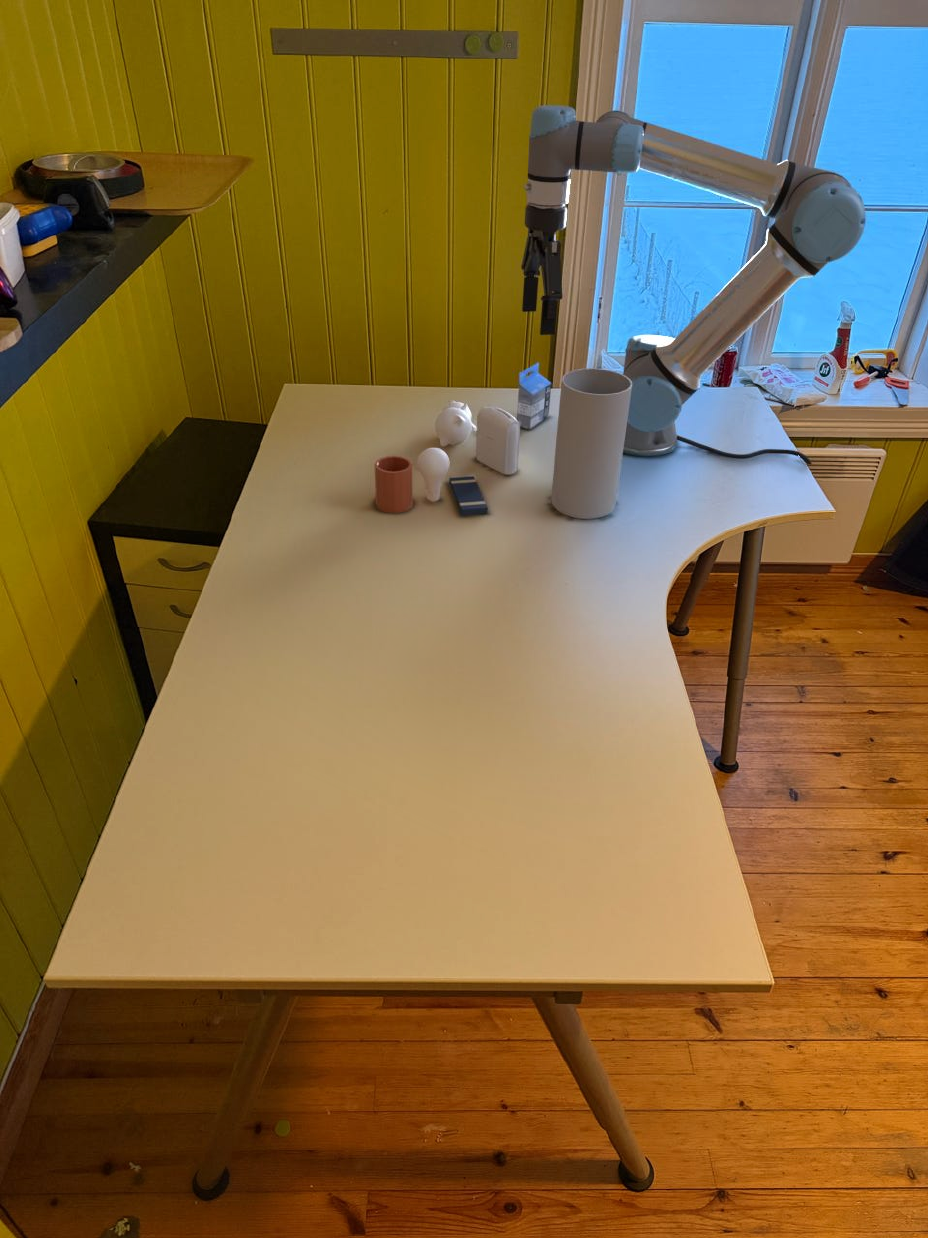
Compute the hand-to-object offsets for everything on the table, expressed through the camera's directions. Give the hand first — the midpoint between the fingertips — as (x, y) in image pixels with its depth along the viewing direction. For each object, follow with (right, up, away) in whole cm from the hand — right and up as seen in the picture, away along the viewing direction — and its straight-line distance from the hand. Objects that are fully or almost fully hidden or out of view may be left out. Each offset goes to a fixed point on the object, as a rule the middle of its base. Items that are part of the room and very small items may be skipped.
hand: (537, 322), depth 176 cm
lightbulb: (-20, -35, +1) cm, 40 cm away
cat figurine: (-16, -18, +23) cm, 34 cm away
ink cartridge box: (+1, -13, +32) cm, 34 cm away
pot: (-28, -35, -1) cm, 45 cm away
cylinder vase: (+9, -35, +1) cm, 36 cm away
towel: (-14, -34, +2) cm, 37 cm away
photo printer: (-8, -26, +14) cm, 30 cm away
